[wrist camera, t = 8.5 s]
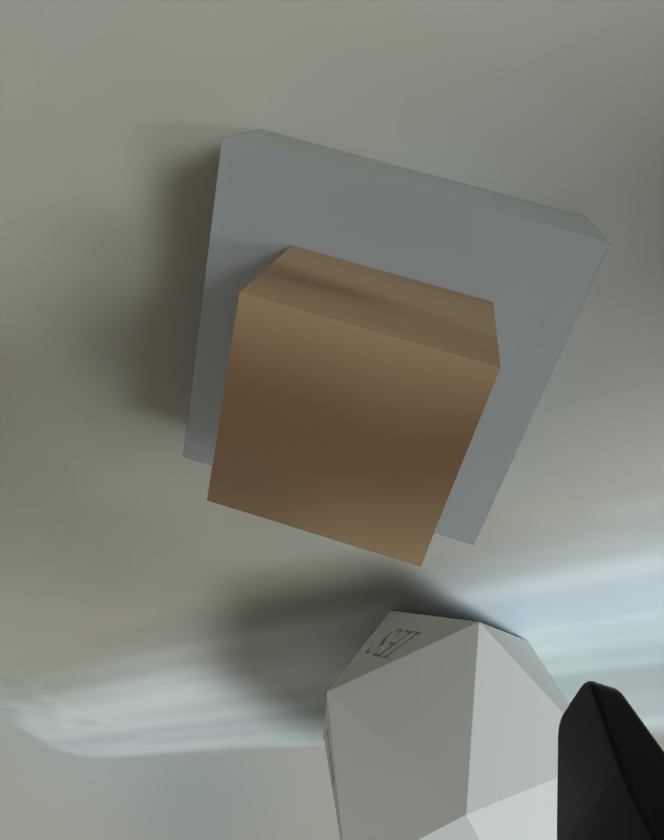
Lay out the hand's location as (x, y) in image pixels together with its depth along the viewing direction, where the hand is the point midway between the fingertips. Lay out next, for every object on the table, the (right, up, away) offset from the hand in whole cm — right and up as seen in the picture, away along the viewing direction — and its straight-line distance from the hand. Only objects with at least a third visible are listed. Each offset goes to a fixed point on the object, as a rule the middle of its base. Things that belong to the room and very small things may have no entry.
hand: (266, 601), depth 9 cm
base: (+2, +5, +10) cm, 12 cm away
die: (+6, -7, +16) cm, 18 cm away
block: (+2, +4, +7) cm, 9 cm away
